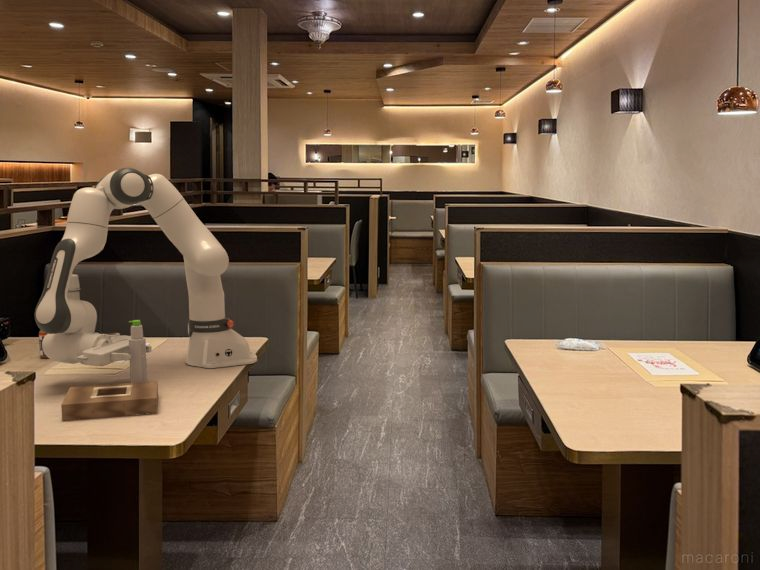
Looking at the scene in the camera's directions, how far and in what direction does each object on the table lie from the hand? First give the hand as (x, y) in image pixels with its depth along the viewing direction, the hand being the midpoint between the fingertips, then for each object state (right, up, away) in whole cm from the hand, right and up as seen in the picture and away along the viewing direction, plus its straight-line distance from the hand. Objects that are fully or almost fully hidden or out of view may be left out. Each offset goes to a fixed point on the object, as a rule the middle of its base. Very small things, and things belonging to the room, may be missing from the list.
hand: (140, 353), depth 201 cm
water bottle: (-43, -3, +58) cm, 72 cm away
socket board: (-3, -13, -12) cm, 18 cm away
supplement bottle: (-43, -5, +41) cm, 60 cm away
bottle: (-1, -11, +2) cm, 11 cm away
